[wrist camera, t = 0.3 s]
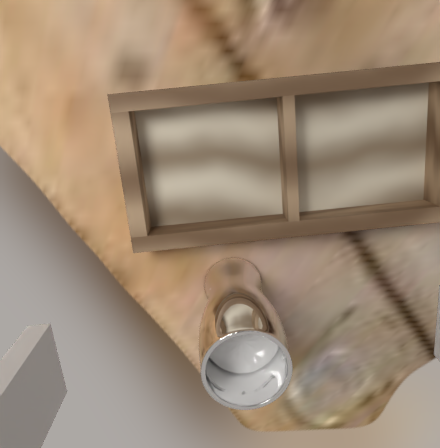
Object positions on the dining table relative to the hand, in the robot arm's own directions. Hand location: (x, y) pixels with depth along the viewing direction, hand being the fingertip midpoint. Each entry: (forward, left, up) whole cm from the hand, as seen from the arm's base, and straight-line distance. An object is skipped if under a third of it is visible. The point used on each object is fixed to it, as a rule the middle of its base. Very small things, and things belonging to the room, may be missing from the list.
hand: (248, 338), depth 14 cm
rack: (-3, +6, -28) cm, 28 cm away
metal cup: (+10, 0, -28) cm, 30 cm away
